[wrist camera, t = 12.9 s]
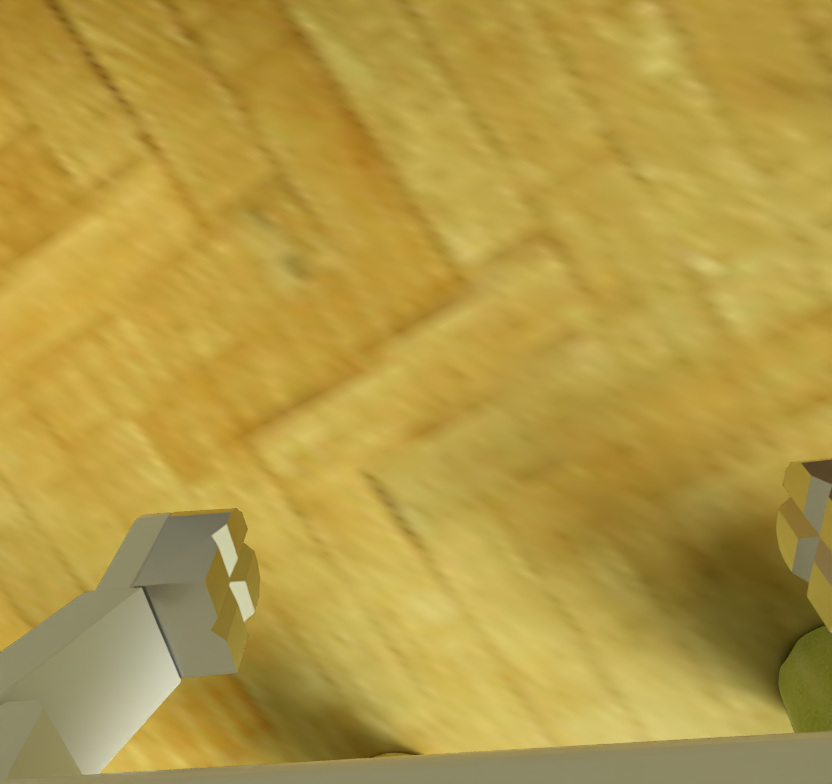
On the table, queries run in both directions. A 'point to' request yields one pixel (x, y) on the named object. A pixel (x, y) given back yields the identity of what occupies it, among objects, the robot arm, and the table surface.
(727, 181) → the table surface
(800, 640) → the plant pot
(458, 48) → the table surface
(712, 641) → the table surface
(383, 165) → the table surface
